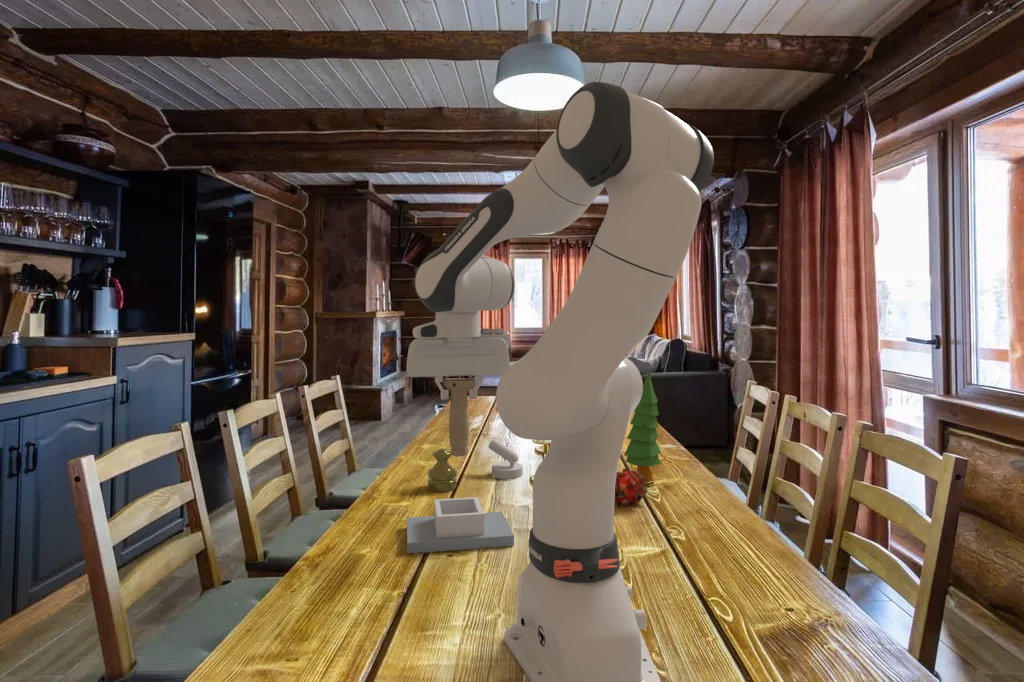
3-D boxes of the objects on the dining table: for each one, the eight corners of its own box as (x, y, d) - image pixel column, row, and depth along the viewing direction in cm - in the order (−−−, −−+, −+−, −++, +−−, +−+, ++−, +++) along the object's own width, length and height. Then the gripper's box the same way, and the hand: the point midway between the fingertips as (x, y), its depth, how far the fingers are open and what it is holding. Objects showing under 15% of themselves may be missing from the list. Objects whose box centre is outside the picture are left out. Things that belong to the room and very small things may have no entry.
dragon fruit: (638, 501, 135) (622, 524, 124) (610, 478, 137) (592, 498, 127) (657, 478, 131) (643, 500, 121) (629, 455, 134) (612, 474, 123)
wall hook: (498, 435, 158) (528, 439, 152) (498, 468, 158) (528, 473, 153) (481, 441, 150) (512, 445, 145) (481, 475, 151) (512, 481, 145)
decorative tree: (663, 486, 142) (665, 371, 141) (627, 486, 142) (629, 371, 141) (654, 475, 152) (656, 368, 150) (620, 475, 152) (622, 367, 150)
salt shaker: (460, 490, 137) (460, 451, 137) (431, 494, 135) (431, 453, 134) (452, 482, 144) (452, 444, 144) (424, 485, 141) (424, 447, 141)
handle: (470, 459, 105) (469, 381, 104) (439, 457, 106) (438, 380, 106) (478, 453, 109) (478, 378, 109) (448, 451, 111) (448, 377, 111)
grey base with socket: (514, 545, 104) (514, 514, 104) (407, 553, 100) (407, 521, 100) (501, 520, 117) (502, 493, 117) (406, 527, 113) (406, 498, 113)
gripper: (507, 328, 112) (507, 395, 113) (405, 328, 108) (406, 398, 109) (513, 328, 106) (513, 399, 106) (406, 329, 102) (406, 402, 102)
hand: (458, 399), depth 107 cm, fingers closed on handle, 4 cm apart
